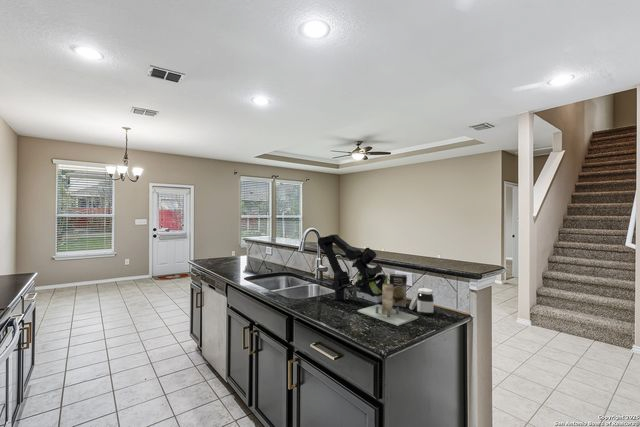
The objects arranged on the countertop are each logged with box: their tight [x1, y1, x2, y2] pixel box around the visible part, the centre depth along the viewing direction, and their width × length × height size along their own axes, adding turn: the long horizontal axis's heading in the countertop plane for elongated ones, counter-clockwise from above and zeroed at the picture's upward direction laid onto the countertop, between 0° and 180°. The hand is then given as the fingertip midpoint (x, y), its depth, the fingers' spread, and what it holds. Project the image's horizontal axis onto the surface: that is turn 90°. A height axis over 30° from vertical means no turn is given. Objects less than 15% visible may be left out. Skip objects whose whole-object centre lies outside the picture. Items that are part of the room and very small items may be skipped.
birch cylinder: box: [381, 282, 394, 315], centre depth 150 cm, size 5×5×14 cm
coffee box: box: [389, 273, 408, 308], centre depth 167 cm, size 9×6×16 cm
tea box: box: [356, 272, 388, 304], centre depth 178 cm, size 15×10×15 cm
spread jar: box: [408, 287, 435, 316], centre depth 155 cm, size 12×11×12 cm
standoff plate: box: [357, 304, 419, 327], centre depth 150 cm, size 24×16×4 cm, turn 40°
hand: (379, 295), depth 153 cm, fingers open, 9 cm apart
